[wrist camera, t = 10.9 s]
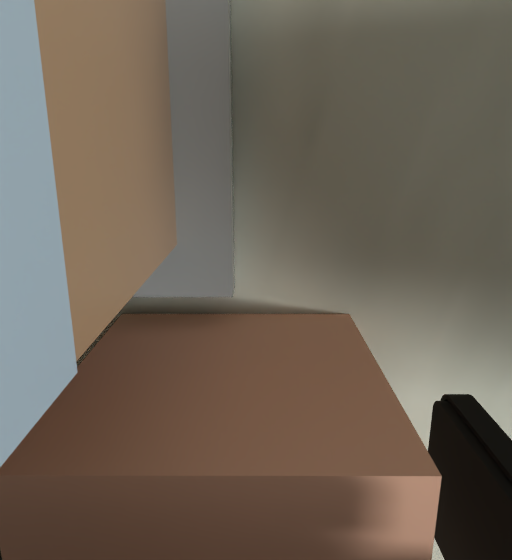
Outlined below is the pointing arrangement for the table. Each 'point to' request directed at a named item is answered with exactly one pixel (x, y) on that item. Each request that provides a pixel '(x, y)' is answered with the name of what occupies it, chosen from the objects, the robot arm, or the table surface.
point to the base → (202, 157)
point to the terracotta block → (222, 449)
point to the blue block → (28, 239)
